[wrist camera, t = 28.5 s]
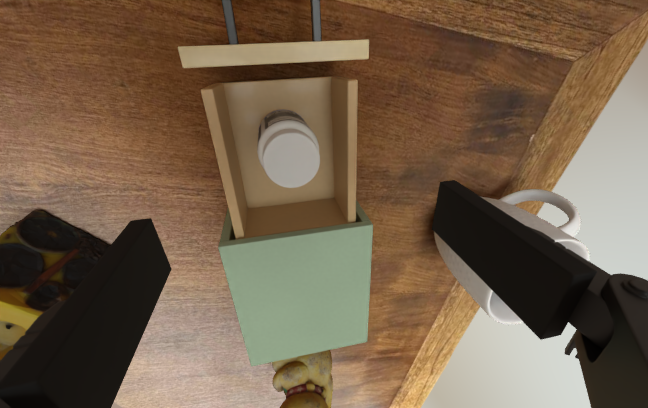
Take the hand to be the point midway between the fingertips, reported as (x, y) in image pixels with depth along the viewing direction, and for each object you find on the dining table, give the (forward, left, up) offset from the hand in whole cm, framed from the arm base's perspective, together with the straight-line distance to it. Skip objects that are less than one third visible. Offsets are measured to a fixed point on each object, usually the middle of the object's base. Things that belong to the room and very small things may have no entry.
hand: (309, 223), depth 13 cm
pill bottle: (0, 0, -16) cm, 16 cm away
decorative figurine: (+30, +14, -18) cm, 37 cm away
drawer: (-3, -1, -17) cm, 17 cm away
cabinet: (+14, +7, -18) cm, 23 cm away
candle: (+22, -17, -18) cm, 33 cm away
